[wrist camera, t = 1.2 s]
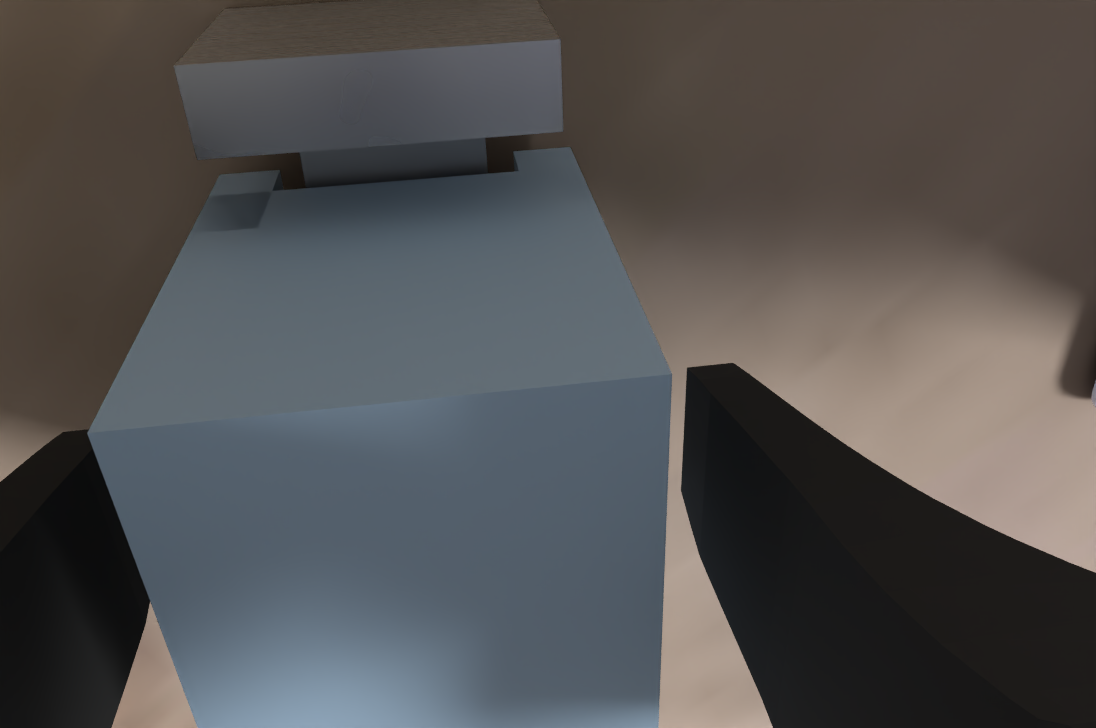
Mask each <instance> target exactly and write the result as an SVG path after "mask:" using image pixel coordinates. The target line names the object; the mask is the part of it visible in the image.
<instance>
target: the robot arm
mask: <svg viewBox="0 0 1096 728" xmlns="http://www.w3.org/2000/svg"><path fill="white" fill-rule="evenodd" d="M1091 400H1092V402H1093V404H1094V406H1095V407H1096V381H1095V385H1094V388H1093V391H1092V398H1091ZM88 431H89V430H79V431H70V432H63V433H61V434H60V435H59V436H57V437H56V438H54V439H53V440H52V441H50V442H49V443H48V444H46V445H45V446H44V447H42V448H41V449H40V450H39V451H37V452H36V453H35V454H34V455H32V456H31V457H30V458H29V459H27V460H26V461H25V462H24V463H23V464H21V465H20V466H19V467H18V468H17V469H15V470H14V471H13V472H12V473H11V474H9V475H8V476H7V477H6V478H5V479H3V480H2V481H1V482H0V728H111V727H112V724H113V721H114V718H115V715H116V712H117V709H118V706H119V703H120V700H121V697H122V695H123V692H124V689H125V686H126V683H127V680H128V677H129V674H130V670H131V667H132V664H133V661H134V658H135V655H136V652H137V649H138V646H139V643H140V640H141V637H142V633H143V630H144V627H145V624H146V619H147V614H148V609H149V604H150V599H149V596H148V594H147V591H146V588H145V586H144V583H143V580H142V578H141V575H140V572H139V570H138V567H137V565H136V562H135V559H134V557H133V554H132V551H131V549H130V546H129V543H128V541H127V538H126V535H125V533H124V530H123V527H122V525H121V522H120V519H119V517H118V514H117V511H116V509H115V506H114V503H113V501H112V498H111V495H110V493H109V490H108V487H107V485H106V482H105V479H104V477H103V474H102V471H101V469H100V466H99V463H98V461H97V458H96V455H95V453H94V450H93V447H92V445H91V442H90V439H89V437H88V434H87V433H88ZM681 492H682V495H683V499H684V503H685V506H686V510H687V514H688V517H689V521H690V525H691V528H692V531H693V535H694V538H695V542H696V545H697V548H698V552H699V555H700V558H701V560H702V562H703V565H704V567H705V570H706V572H707V574H708V577H709V579H710V581H711V584H712V586H713V588H714V590H715V593H716V595H717V597H718V600H719V602H720V604H721V607H722V609H723V611H724V614H725V616H726V618H727V620H728V623H729V625H730V627H731V629H732V632H733V634H734V636H735V639H736V641H737V643H738V645H739V648H740V650H741V652H742V655H743V657H744V659H745V661H746V664H747V666H748V668H749V670H750V673H751V675H752V677H753V680H754V682H755V684H756V686H757V689H758V691H759V693H760V696H761V698H762V700H763V703H764V705H765V708H766V711H767V713H768V716H769V718H770V721H771V724H772V726H773V728H1096V573H1095V572H1092V571H1090V570H1087V569H1084V568H1082V567H1079V566H1076V565H1074V564H1071V563H1069V562H1067V561H1064V560H1062V559H1060V558H1057V557H1055V556H1053V555H1050V554H1048V553H1046V552H1043V551H1041V550H1039V549H1036V548H1034V547H1032V546H1029V545H1027V544H1025V543H1022V542H1020V541H1018V540H1015V539H1013V538H1011V537H1009V536H1007V535H1005V534H1002V533H1000V532H998V531H996V530H994V529H992V528H990V527H988V526H985V525H983V524H981V523H979V522H978V521H976V520H974V519H972V518H970V517H968V516H966V515H964V514H962V513H960V512H958V511H956V510H954V509H953V508H951V507H949V506H947V505H945V504H943V503H941V502H939V501H937V500H935V499H933V498H932V497H930V496H928V495H926V494H924V493H923V492H921V491H919V490H917V489H916V488H914V487H912V486H910V485H909V484H907V483H905V482H904V481H902V480H901V479H899V478H897V477H896V476H894V475H892V474H891V473H889V472H888V471H886V470H884V469H883V468H881V467H880V466H878V465H876V464H875V463H873V462H871V461H870V460H868V459H867V458H865V457H864V456H862V455H861V454H859V453H858V452H856V451H855V450H853V449H852V448H850V447H849V446H847V445H846V444H844V443H843V442H841V441H840V440H838V439H837V438H835V437H834V436H833V435H831V434H830V433H828V432H827V431H825V430H824V429H823V428H821V427H820V426H818V425H817V424H816V423H814V422H813V421H811V420H810V419H809V418H807V417H806V416H805V415H803V414H802V413H800V412H799V411H798V410H796V409H795V408H794V407H792V406H791V405H790V404H788V403H787V402H786V401H784V400H783V399H782V398H780V397H779V396H778V395H776V394H775V393H774V392H772V391H771V390H770V389H768V388H767V387H766V386H764V385H763V384H762V383H760V382H759V381H758V380H756V379H755V378H754V377H752V376H751V375H750V374H748V373H747V372H745V371H744V370H743V369H741V368H740V367H738V366H737V365H735V364H734V363H728V364H718V365H708V366H699V367H689V368H687V381H686V402H685V422H684V443H683V463H682V484H681Z"/></svg>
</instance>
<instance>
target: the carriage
mask: <svg viewBox="0 0 1096 728" xmlns="http://www.w3.org/2000/svg"><path fill="white" fill-rule="evenodd" d="M513 155H514V171H515V172H502V173H490V174H477V175H465V176H453V177H440V178H428V179H416V180H403V181H391V182H378V183H366V184H354V185H341V186H329V187H316V188H304V189H292V190H284V188H283V183H282V178H281V173H280V170H271V171H259V172H246V173H233V174H220V175H219V177H218V179H217V181H216V183H215V185H214V187H213V189H212V191H211V193H210V195H209V197H208V199H207V200H206V202H205V204H204V206H203V208H202V210H201V212H200V214H199V216H198V218H197V220H196V222H195V224H194V226H193V228H192V230H191V232H190V234H189V236H188V238H187V240H186V241H185V243H184V245H183V247H182V249H181V251H180V253H179V255H178V257H177V259H176V261H175V263H174V265H173V267H172V269H171V271H170V273H169V275H168V277H167V279H166V280H165V282H164V284H163V286H162V288H161V290H160V292H159V294H158V296H157V298H156V300H155V302H154V304H153V306H152V308H151V310H150V312H149V314H148V316H147V318H146V319H145V321H144V323H143V325H142V327H141V329H140V331H139V333H138V335H137V337H136V339H135V341H134V343H133V345H132V347H131V349H130V351H129V353H128V355H127V357H126V358H125V360H124V362H123V364H122V366H121V368H120V370H119V372H118V374H117V376H116V378H115V380H114V382H113V384H112V386H111V388H110V390H109V392H108V394H107V396H106V397H105V399H104V401H103V403H102V405H101V407H100V409H99V411H98V413H97V415H96V417H95V419H94V421H93V423H92V425H91V427H90V429H89V431H88V433H87V434H88V437H89V439H90V442H91V445H92V447H93V450H94V453H95V455H96V458H97V461H98V463H99V466H100V469H101V471H102V474H103V477H104V479H105V482H106V485H107V487H108V490H109V493H110V495H111V498H112V501H113V503H114V506H115V509H116V511H117V514H118V517H119V519H120V522H121V525H122V527H123V530H124V533H125V535H126V538H127V541H128V543H129V546H130V549H131V551H132V554H133V557H134V559H135V562H136V565H137V567H138V570H139V572H140V575H141V578H142V580H143V583H144V586H145V588H146V591H147V594H148V596H149V599H150V602H151V604H152V607H153V610H154V612H155V615H156V618H157V620H158V623H159V626H160V628H161V631H162V634H163V636H164V639H165V642H166V644H167V647H168V650H169V652H170V655H171V658H172V660H173V663H174V666H175V668H176V671H177V674H178V676H179V679H180V682H181V684H182V687H183V690H184V692H185V695H186V698H187V700H188V703H189V706H190V708H191V711H192V714H193V716H194V719H195V722H196V724H197V727H198V728H658V722H659V696H660V670H661V644H662V619H663V593H664V567H665V541H666V516H667V490H668V464H669V438H670V413H671V387H672V373H671V371H670V369H669V366H668V364H667V362H666V360H665V357H664V355H663V353H662V351H661V349H660V346H659V344H658V342H657V340H656V337H655V335H654V333H653V331H652V328H651V326H650V324H649V322H648V320H647V317H646V315H645V313H644V311H643V308H642V306H641V304H640V302H639V299H638V297H637V295H636V293H635V291H634V288H633V286H632V284H631V282H630V279H629V277H628V275H627V273H626V270H625V268H624V266H623V264H622V262H621V259H620V257H619V255H618V253H617V250H616V248H615V246H614V244H613V241H612V239H611V237H610V235H609V233H608V230H607V228H606V226H605V224H604V221H603V219H602V217H601V215H600V212H599V210H598V208H597V206H596V204H595V201H594V199H593V197H592V195H591V192H590V190H589V188H588V186H587V183H586V181H585V179H584V177H583V175H582V172H581V170H580V168H579V166H578V163H577V161H576V159H575V157H574V154H573V152H572V150H571V148H570V147H563V148H550V149H538V150H525V151H513Z"/></svg>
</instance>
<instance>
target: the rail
mask: <svg viewBox="0 0 1096 728" xmlns="http://www.w3.org/2000/svg"><path fill="white" fill-rule="evenodd" d="M174 69H175V73H176V77H177V81H178V85H179V89H180V93H181V97H182V101H183V105H184V109H185V113H186V117H187V121H188V125H189V129H190V134H191V138H192V142H193V146H194V150H195V154H196V158H197V160H204V159H217V158H230V157H243V156H256V155H269V154H282V153H295V152H299V153H300V158H301V164H302V169H303V174H304V180H305V185H306V188H316V187H329V186H341V185H354V184H366V183H378V182H391V181H403V180H416V179H428V178H440V177H453V176H465V175H477V174H488V167H487V154H486V141H485V138H489V137H502V136H515V135H527V134H540V133H553V132H563V104H562V71H561V39H560V37H559V36H558V34H557V33H556V31H555V29H554V28H553V26H552V24H551V23H550V21H549V19H548V18H547V16H546V14H545V13H544V11H543V10H542V8H541V6H540V5H539V3H538V1H537V0H354V1H339V2H323V3H307V4H292V5H276V6H260V7H245V8H229V9H224V10H223V11H222V12H221V13H220V14H219V15H218V17H217V18H216V19H215V20H214V21H213V22H212V23H211V24H210V26H209V27H208V28H207V29H206V30H205V31H204V32H203V33H202V35H201V36H200V37H199V38H198V39H197V40H196V41H195V42H194V44H193V45H192V46H191V47H190V48H189V49H188V50H187V51H186V52H185V54H184V55H183V56H182V57H181V58H180V59H179V60H178V61H177V63H176V64H175V65H174Z"/></svg>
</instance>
